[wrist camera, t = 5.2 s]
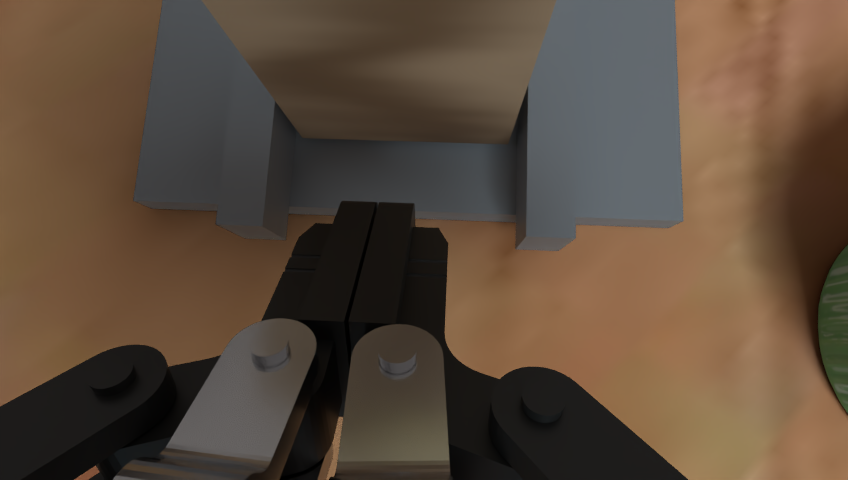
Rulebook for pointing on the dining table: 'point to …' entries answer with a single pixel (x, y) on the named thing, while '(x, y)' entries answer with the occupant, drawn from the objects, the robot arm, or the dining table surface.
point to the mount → (429, 161)
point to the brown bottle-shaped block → (392, 64)
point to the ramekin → (835, 326)
